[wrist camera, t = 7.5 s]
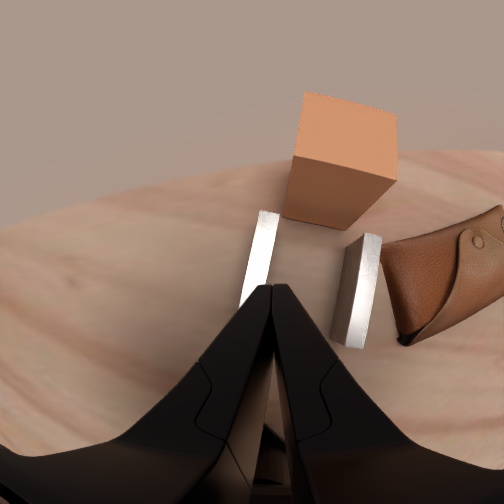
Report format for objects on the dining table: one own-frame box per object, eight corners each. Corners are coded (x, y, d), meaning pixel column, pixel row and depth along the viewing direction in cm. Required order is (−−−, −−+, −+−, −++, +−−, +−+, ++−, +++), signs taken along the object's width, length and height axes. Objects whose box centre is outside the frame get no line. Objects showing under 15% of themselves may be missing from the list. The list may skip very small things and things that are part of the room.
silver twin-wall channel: (343, 339, 21) (362, 349, 16) (241, 320, 22) (234, 325, 17) (359, 250, 22) (382, 236, 17) (261, 229, 23) (259, 210, 18)
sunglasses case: (502, 198, 22) (547, 214, 16) (500, 257, 24) (539, 280, 18) (368, 247, 22) (415, 283, 16) (375, 317, 25) (411, 362, 18)
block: (345, 230, 22) (397, 180, 12) (282, 217, 23) (293, 155, 13) (351, 184, 23) (396, 115, 13) (291, 170, 23) (305, 91, 13)
